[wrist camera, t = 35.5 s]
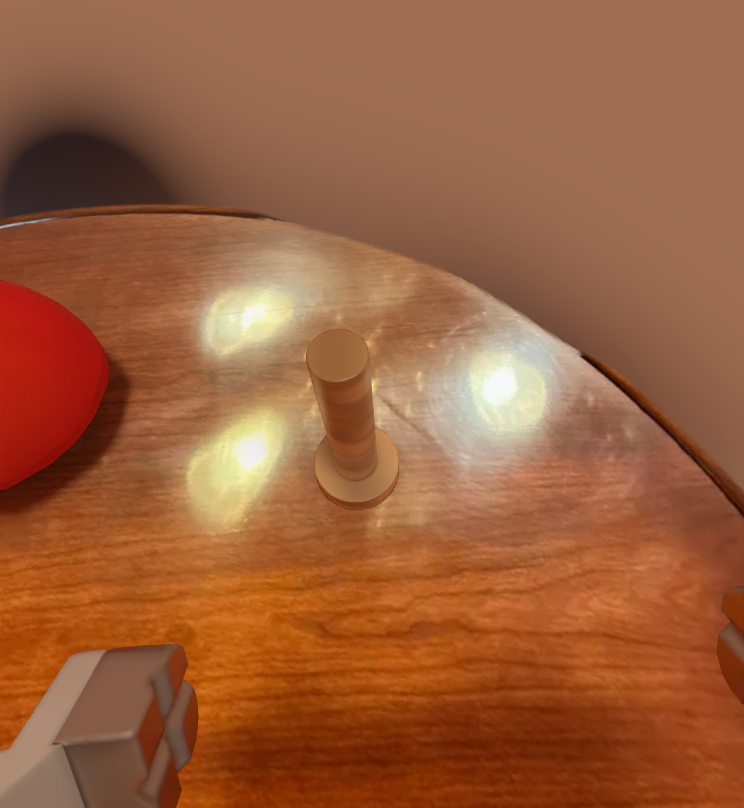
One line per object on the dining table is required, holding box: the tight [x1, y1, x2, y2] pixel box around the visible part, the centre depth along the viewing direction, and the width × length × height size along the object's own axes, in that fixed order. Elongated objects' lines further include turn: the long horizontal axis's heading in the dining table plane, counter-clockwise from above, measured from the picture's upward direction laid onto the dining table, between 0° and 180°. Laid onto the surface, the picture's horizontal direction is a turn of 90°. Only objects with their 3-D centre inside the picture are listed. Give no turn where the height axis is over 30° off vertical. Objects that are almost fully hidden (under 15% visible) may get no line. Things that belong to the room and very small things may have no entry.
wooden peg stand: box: [306, 329, 399, 510], centre depth 29 cm, size 5×5×14 cm
